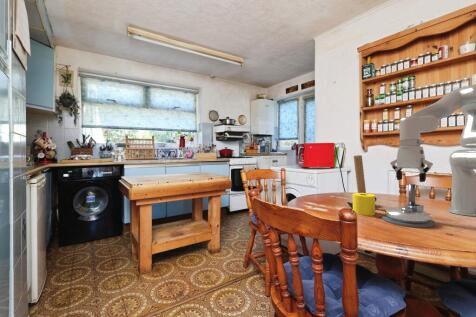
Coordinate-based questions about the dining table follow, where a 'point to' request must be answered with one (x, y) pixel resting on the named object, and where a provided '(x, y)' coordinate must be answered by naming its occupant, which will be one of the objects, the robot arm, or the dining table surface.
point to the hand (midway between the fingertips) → (410, 180)
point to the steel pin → (411, 194)
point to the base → (409, 223)
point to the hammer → (359, 176)
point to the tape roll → (364, 204)
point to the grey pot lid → (409, 214)
